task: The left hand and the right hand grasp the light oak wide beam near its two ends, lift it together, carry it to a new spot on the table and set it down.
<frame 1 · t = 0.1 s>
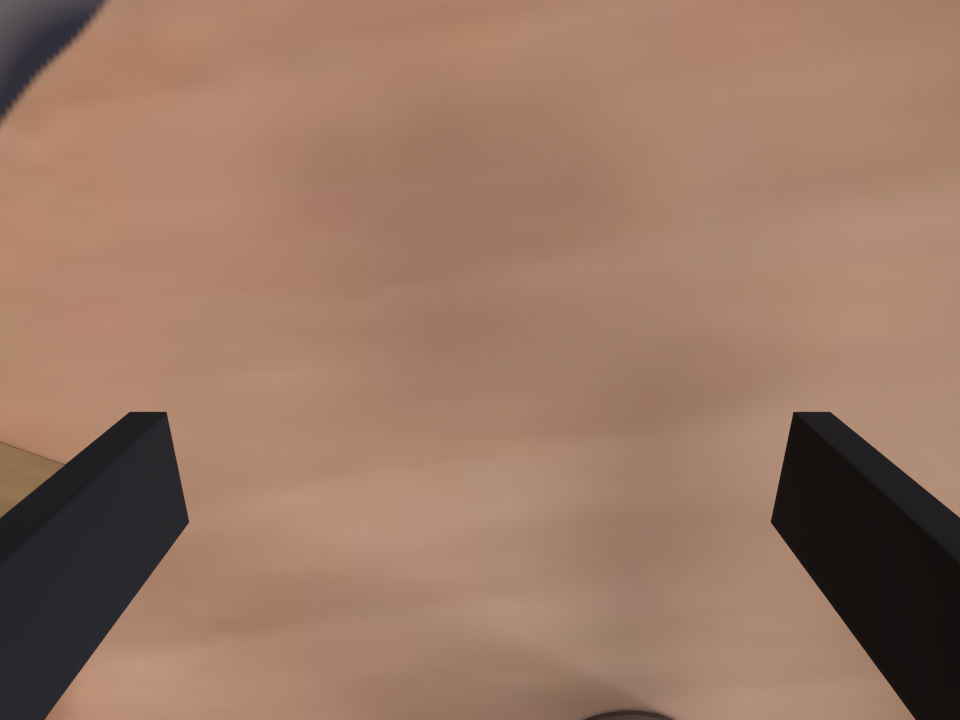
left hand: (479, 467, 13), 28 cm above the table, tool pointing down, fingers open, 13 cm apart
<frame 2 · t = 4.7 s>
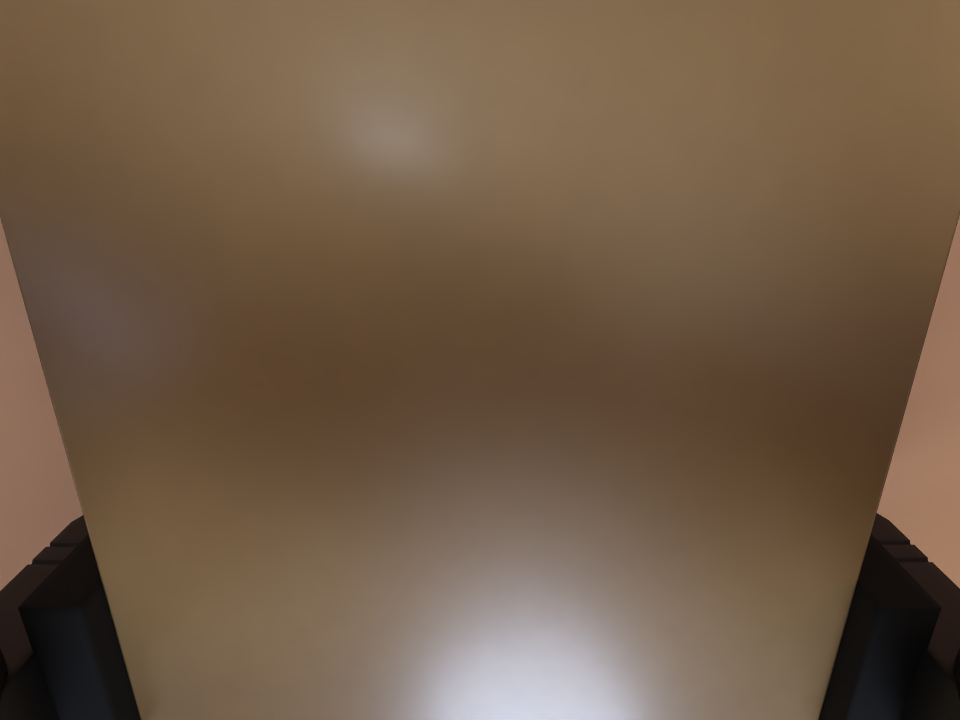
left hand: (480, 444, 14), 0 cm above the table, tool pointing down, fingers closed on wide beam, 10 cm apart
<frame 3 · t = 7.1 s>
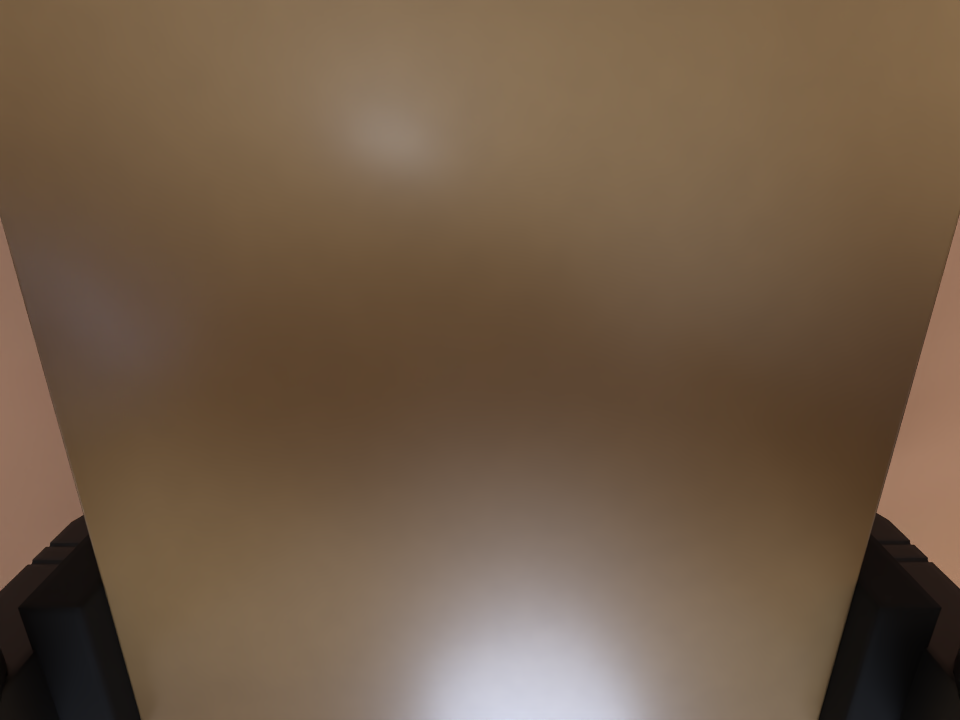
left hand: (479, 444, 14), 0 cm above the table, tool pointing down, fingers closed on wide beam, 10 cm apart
when the left hand's fingers open (2 cm above the table, at t = 13.0 s): wide beam drops 1 cm, on the table.
when the right hand's fingers open (2 cm above the table, at t = 13.0 s): wide beam drops 1 cm, on the table.
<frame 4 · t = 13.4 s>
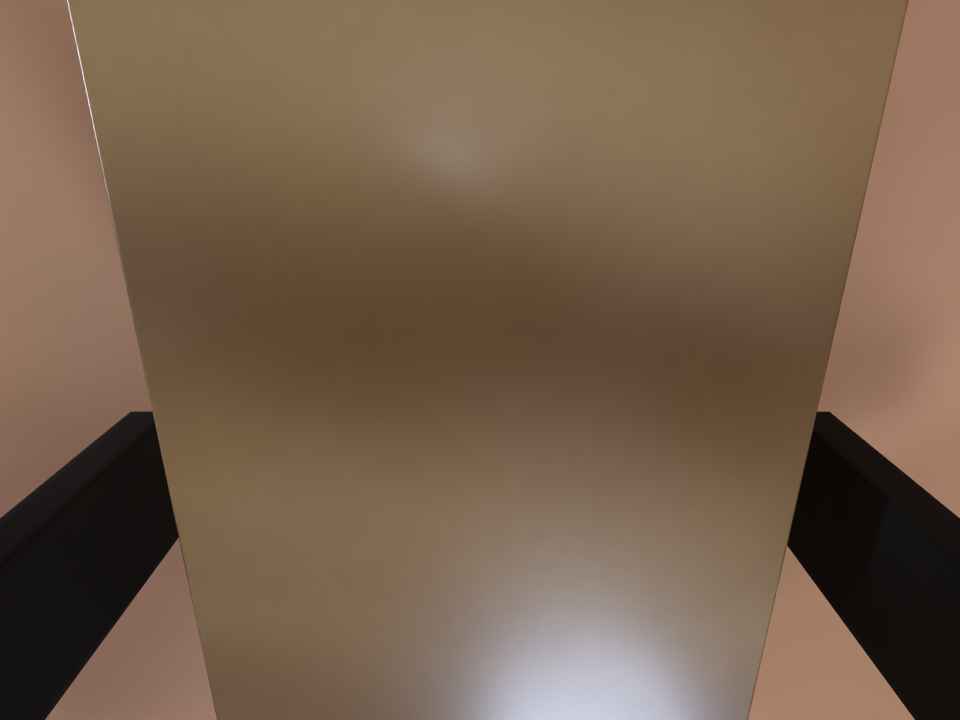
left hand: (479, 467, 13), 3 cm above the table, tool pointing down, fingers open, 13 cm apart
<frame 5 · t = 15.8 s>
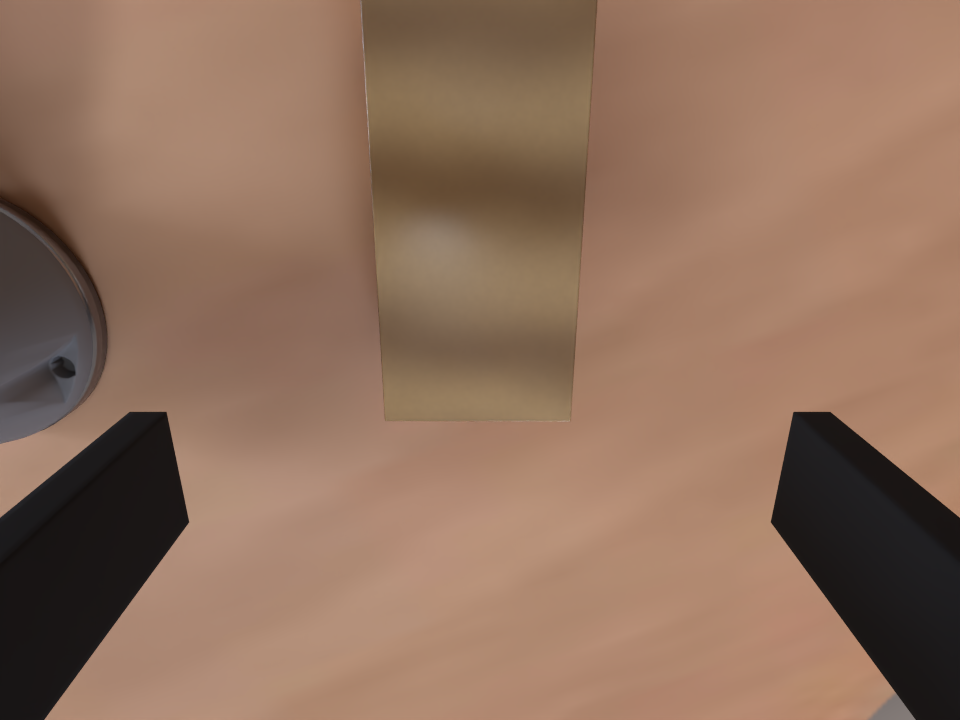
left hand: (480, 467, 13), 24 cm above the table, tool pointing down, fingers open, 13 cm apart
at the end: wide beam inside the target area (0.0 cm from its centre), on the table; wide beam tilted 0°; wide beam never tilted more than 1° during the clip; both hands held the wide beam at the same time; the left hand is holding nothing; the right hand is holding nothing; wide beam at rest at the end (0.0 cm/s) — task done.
